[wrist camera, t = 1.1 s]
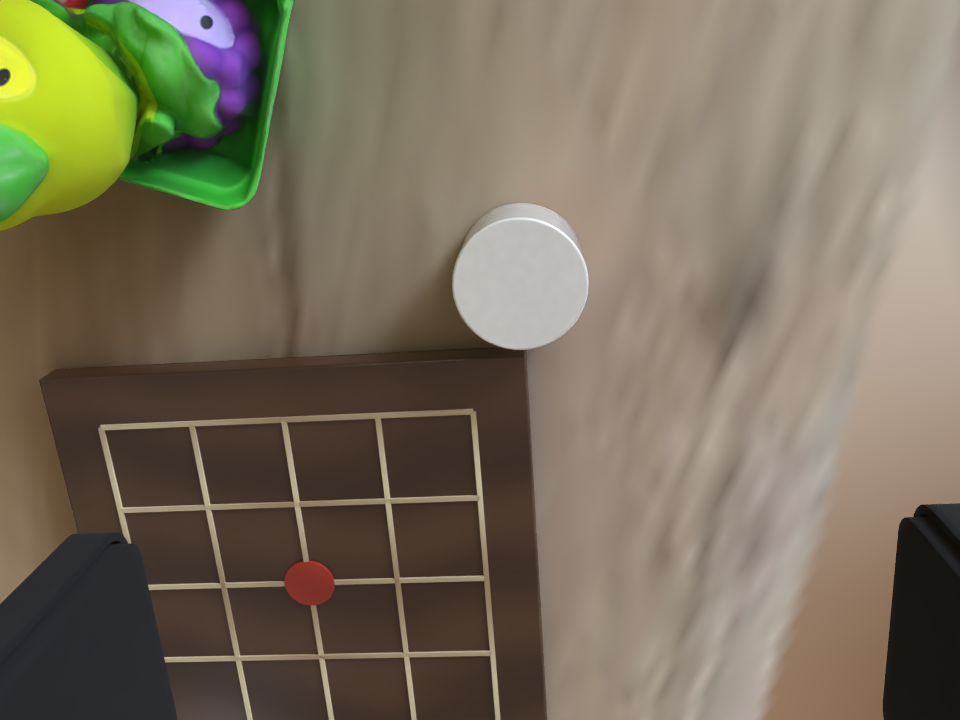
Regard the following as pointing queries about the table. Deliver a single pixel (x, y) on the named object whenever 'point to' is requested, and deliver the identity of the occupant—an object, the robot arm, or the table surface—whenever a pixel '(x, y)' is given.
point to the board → (322, 528)
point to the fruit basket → (135, 99)
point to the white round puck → (520, 277)
